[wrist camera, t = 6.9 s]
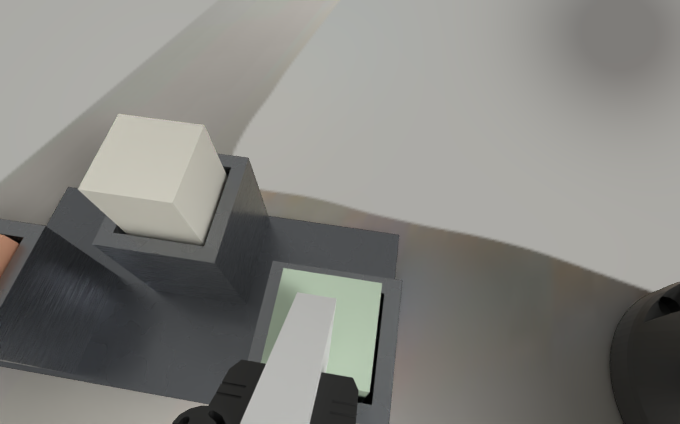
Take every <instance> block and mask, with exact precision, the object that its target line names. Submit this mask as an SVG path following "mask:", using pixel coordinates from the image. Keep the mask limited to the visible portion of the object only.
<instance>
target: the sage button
mask: <svg viewBox="0 0 680 424" xmlns="http://www.w3.org/2000/svg"><path fill="white" fill-rule="evenodd" d="M381 289H382V283H378V282H371V281H365V280H358V279H352V278H345V277H339V276H332V275H326V274H319V273H313V272H306V271H300V270H293V269H287V268H283V272H282V276H281V280H280V284H279V289H278V293H277V297H276V301H275V305H274V309H273V314H272V318H271V322H270V326H269V330H268V335H267V339H266V343H265V347H264V351H263V356H262V360H261V363H265V364H266V363H267V361H268V358H269V356H270V354H271V351H272V349H273V347H274V345H275V342H276V340H277V338H278V335H279V333H280V331H281V329H282V326H283V324H284V322H285V319H286V317H287V315H288V312H289V310H290V308H291V306H292V303H293V301H294V299H295V296H296V294H297V292H299V293H305V294H312V295H318V296H324V297H330V298H336V307H335V314H334V322H333V330H332V337H331V345H330V352H329V360H328V365H327V369H326V373H329V374H335V375H341V376H347V377H352V378H353V379H354V381H355V383H356V386H357V388H358V390H359V393H358V403H361V402H362V401H363V399H364V398H365V397H366V396H367V395H368V393H369V392H370V384H371V375H372V367H373V358H374V350H375V341H376V332H377V324H378V315H379V306H380V298H381Z"/></svg>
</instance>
